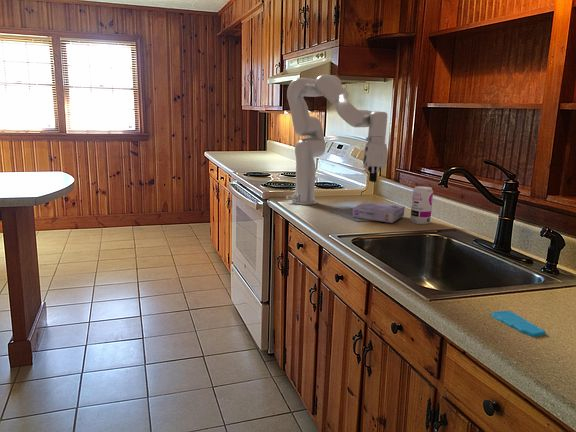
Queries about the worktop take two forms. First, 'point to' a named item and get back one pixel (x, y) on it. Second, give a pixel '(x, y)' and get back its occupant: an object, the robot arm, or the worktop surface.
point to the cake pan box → (378, 212)
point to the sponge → (518, 323)
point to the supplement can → (421, 205)
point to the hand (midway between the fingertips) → (372, 181)
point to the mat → (349, 214)
